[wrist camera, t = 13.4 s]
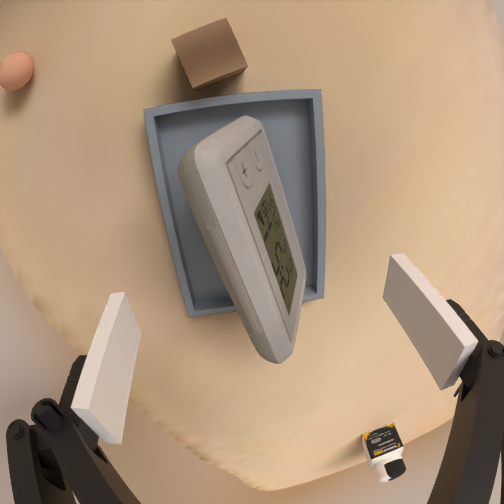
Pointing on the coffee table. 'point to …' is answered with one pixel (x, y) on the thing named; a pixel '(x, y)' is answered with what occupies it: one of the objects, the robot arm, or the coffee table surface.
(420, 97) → the coffee table surface
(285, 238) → the digital clock
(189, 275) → the tray
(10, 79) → the terracotta ball
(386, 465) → the medicine bottle
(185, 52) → the walnut cube
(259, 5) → the coffee table surface
